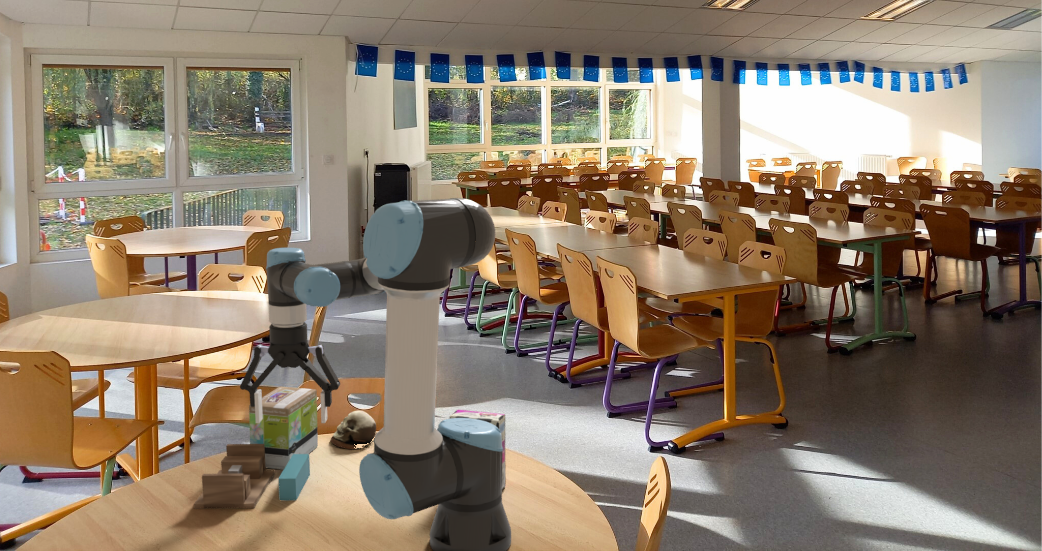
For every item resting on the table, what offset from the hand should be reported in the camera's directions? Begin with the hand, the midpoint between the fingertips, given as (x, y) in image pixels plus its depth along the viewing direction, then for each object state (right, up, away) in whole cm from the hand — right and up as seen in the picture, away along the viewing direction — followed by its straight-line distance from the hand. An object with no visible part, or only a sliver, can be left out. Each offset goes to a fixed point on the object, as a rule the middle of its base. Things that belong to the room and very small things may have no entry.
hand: (291, 421), depth 180 cm
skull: (+8, -10, +29) cm, 32 cm away
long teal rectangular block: (0, -15, +2) cm, 15 cm away
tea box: (-7, -12, +19) cm, 23 cm away
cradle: (-12, -15, +1) cm, 19 cm away
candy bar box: (+39, -15, +3) cm, 42 cm away
